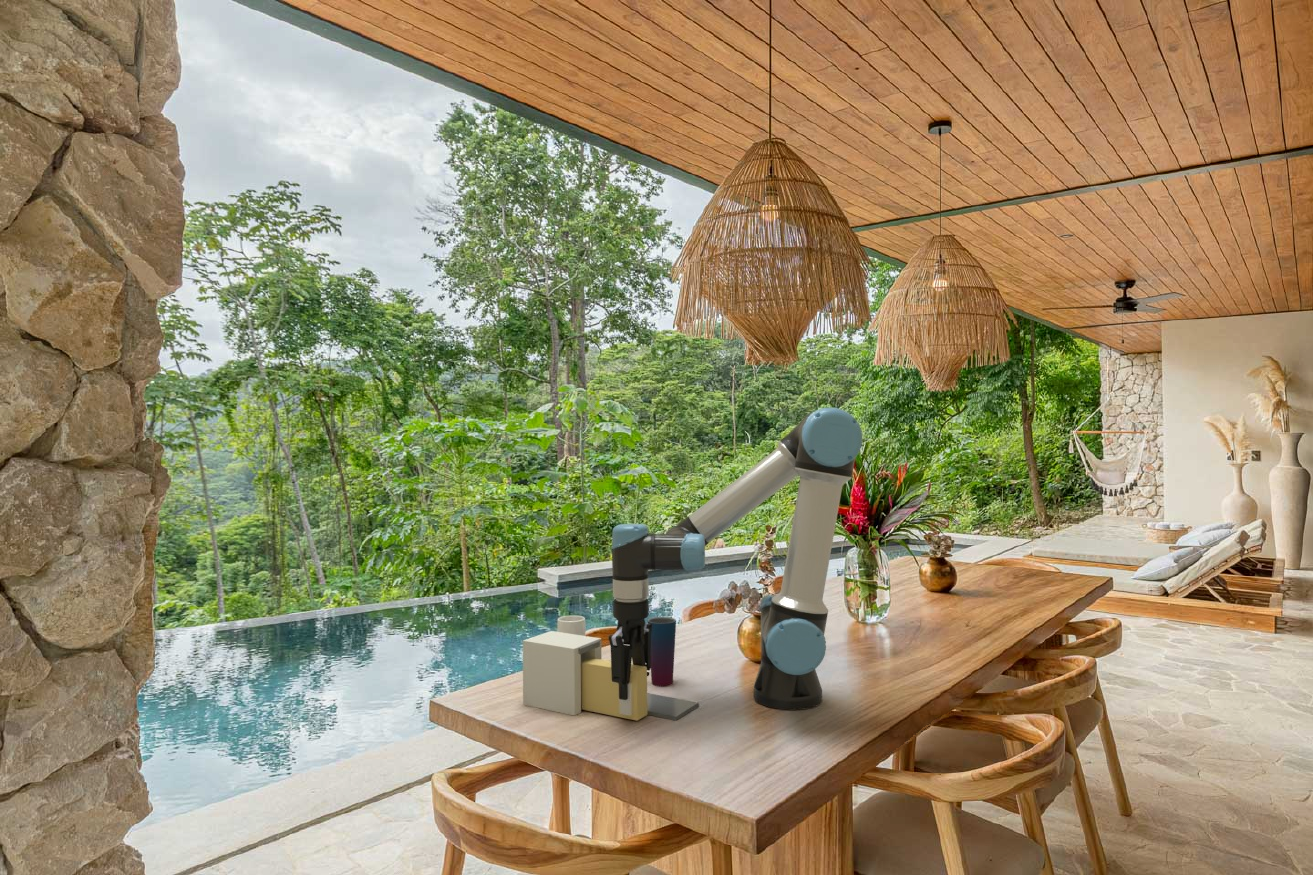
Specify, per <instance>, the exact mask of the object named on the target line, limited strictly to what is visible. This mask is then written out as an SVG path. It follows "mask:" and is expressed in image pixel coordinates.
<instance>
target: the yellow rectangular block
mask: <svg viewBox="0 0 1313 875" xmlns="http://www.w3.org/2000/svg"><path fill="white" fill-rule="evenodd" d="M647 672H648V670H647V667H645V666H639V665H633V663H631V672H630V682H629V683H632V711H633V715H631V716H629V715H624V714H620V704H619V684H618V683H616V682H612V673H611V660H608V659H607V660H606V659H602V658H601V659H595V658H591V659H589V660H586V661H584V662H582V663H581V676H582V702H581V711H582V710H583V711H587V712H594V713H598V714H603V715H608V716H612V717H617V718H622V719H628V720H633V721H639V720H641V719H642V718H644V717H646V716H648V715H647V693H648V676H647Z"/></svg>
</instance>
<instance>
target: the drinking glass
mask: <svg viewBox="0 0 1313 875" xmlns="http://www.w3.org/2000/svg"><path fill="white" fill-rule="evenodd" d="M556 624H557V626H556V632H562V633H569V634H575V635H582V636H586V633H587V632H586V631H587V630H586V618H585V617H584V616H582V615H564V616H559V617H558V618H557V623H556Z"/></svg>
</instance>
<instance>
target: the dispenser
mask: <svg viewBox="0 0 1313 875" xmlns="http://www.w3.org/2000/svg"><path fill="white" fill-rule="evenodd" d="M591 658H595V659H601V660H602V638H601V637H596V636H595V637H594V636H588V635H587V636H586V635H585V636H582V635H575V634H569V633H562V632H557V631H556V630H555V631H554V630H550V631H547V632H544V633H541V634H538V635H535V636H533V637H530V638H526V639H524V640H522V705H524V706H527V707H528V706H529V707H533V708H538V709H543V710H546V711H547V710H548V711H552V712H556V713H559V714H560V713H562V714H566V715H571V716H573V717H574V716H577V715H578V714H580V713H582V676H581V663H582V662H584V661H586V660H589V659H591Z"/></svg>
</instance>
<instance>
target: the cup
mask: <svg viewBox="0 0 1313 875" xmlns="http://www.w3.org/2000/svg"><path fill="white" fill-rule="evenodd" d="M647 623H650V624H652V632H651V669H650V677H651V684H652V685H653V686H655V687H668V686H671V685H673V682H674V665H675V649H676V630H677V627H676V626H677V619H676V618H674V617H669V616H658V617H656V616H655V617H650V618H648V619H647Z"/></svg>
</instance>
